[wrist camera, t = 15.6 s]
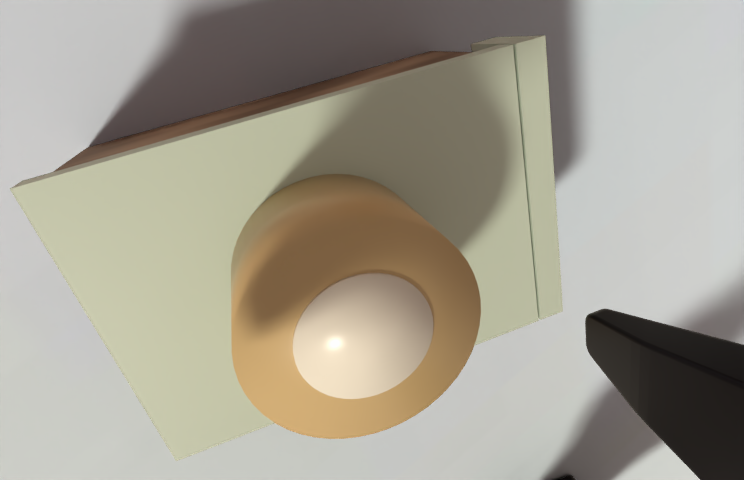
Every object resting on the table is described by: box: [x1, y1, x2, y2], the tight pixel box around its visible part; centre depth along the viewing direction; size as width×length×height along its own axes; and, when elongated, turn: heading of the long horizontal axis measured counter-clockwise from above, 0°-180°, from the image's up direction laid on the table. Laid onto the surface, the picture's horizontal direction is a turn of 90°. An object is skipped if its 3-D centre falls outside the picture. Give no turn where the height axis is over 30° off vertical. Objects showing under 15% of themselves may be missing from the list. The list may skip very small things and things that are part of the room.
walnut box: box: [54, 51, 472, 172], centre depth 18 cm, size 14×10×5 cm
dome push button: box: [231, 174, 481, 439], centre depth 13 cm, size 6×6×4 cm
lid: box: [10, 35, 563, 461], centre depth 17 cm, size 16×10×3 cm
